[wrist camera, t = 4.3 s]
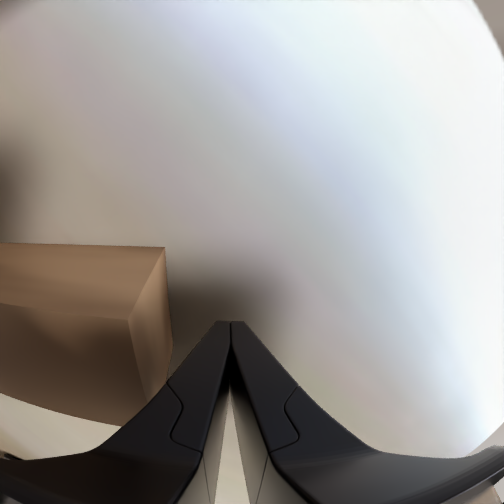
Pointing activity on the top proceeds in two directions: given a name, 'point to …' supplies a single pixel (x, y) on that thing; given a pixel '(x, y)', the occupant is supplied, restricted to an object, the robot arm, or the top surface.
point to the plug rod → (84, 328)
